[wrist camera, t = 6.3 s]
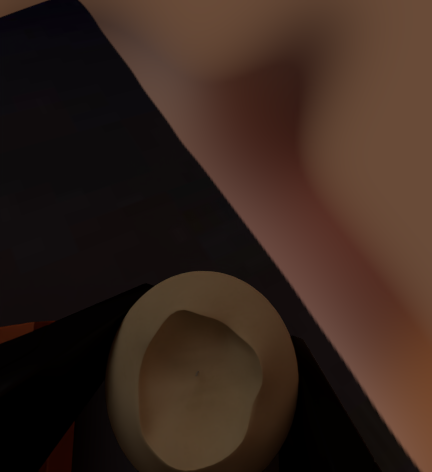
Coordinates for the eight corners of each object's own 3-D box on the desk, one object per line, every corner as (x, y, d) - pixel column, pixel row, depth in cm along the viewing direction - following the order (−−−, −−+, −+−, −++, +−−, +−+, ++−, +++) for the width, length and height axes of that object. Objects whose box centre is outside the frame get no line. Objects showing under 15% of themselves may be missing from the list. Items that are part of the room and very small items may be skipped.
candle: (169, 302, 15) (74, 281, 6) (246, 287, 15) (279, 242, 6) (178, 395, 13) (57, 597, 4) (266, 377, 13) (366, 530, 4)
